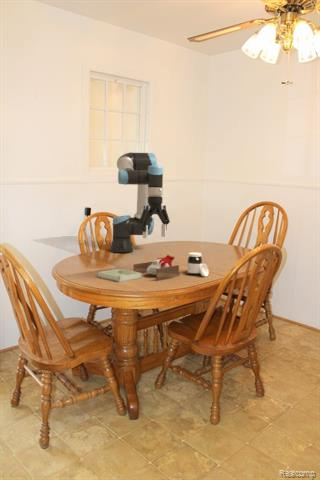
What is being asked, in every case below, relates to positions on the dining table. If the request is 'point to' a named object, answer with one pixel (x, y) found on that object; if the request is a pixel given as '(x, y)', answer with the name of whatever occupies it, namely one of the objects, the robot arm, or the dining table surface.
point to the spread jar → (196, 265)
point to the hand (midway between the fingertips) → (154, 237)
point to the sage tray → (119, 275)
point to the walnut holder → (158, 271)
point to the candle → (160, 264)
